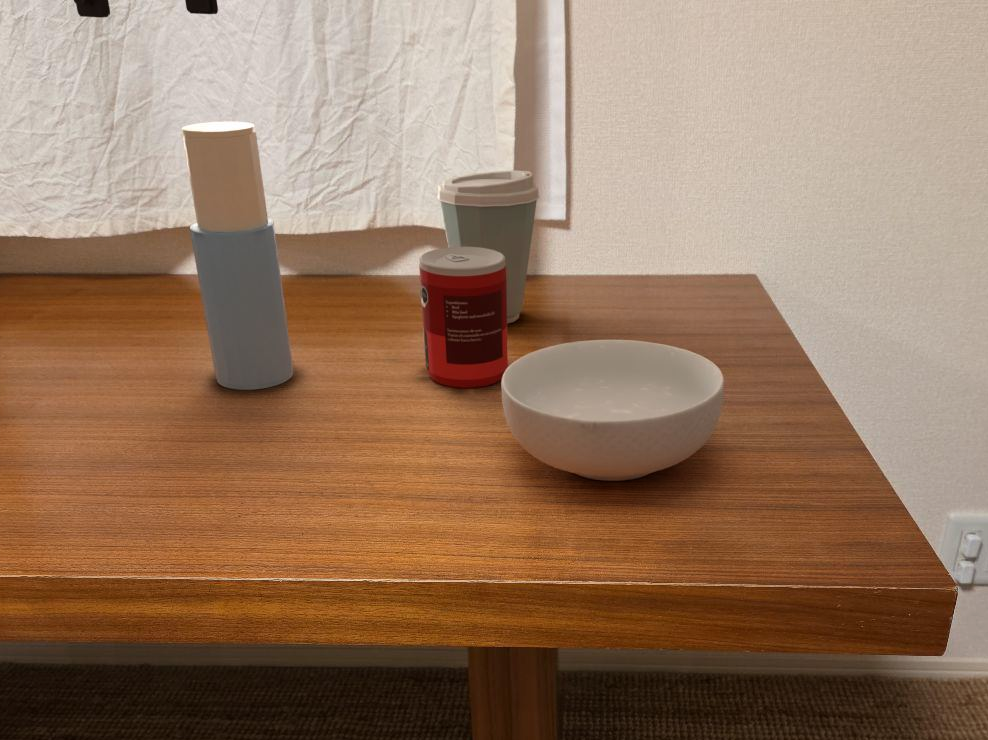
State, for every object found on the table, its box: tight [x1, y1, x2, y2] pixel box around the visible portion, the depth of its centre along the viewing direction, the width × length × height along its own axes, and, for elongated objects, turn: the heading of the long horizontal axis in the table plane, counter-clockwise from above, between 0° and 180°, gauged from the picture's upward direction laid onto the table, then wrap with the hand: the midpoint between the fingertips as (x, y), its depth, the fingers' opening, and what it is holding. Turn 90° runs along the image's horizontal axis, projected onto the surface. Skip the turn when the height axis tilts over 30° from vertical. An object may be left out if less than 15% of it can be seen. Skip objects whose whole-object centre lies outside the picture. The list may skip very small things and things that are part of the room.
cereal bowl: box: [500, 339, 725, 482], centre depth 77 cm, size 17×17×7 cm
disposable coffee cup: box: [436, 170, 540, 324], centre depth 107 cm, size 11×11×15 cm
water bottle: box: [189, 217, 294, 391], centre depth 91 cm, size 7×7×18 cm
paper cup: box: [181, 121, 269, 232], centre depth 86 cm, size 6×6×8 cm
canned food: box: [418, 247, 509, 389], centre depth 93 cm, size 8×8×11 cm
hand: (151, 15), depth 78 cm, fingers open, 9 cm apart
